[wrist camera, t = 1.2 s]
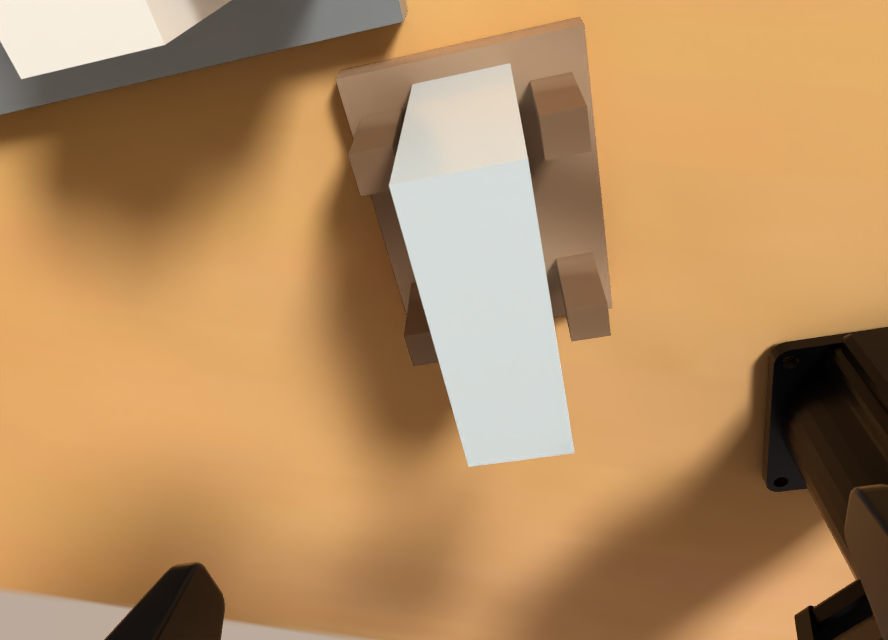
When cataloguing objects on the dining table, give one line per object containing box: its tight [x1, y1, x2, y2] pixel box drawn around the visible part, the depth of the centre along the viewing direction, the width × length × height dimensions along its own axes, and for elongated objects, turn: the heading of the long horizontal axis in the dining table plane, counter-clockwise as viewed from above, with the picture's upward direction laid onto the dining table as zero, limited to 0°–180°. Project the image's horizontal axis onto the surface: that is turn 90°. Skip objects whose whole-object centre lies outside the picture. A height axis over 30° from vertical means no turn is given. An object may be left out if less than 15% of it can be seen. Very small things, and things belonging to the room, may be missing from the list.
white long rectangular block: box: [389, 63, 575, 467], centre depth 16 cm, size 7×2×6 cm, turn 12°
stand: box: [336, 17, 612, 366], centre depth 18 cm, size 8×6×3 cm
